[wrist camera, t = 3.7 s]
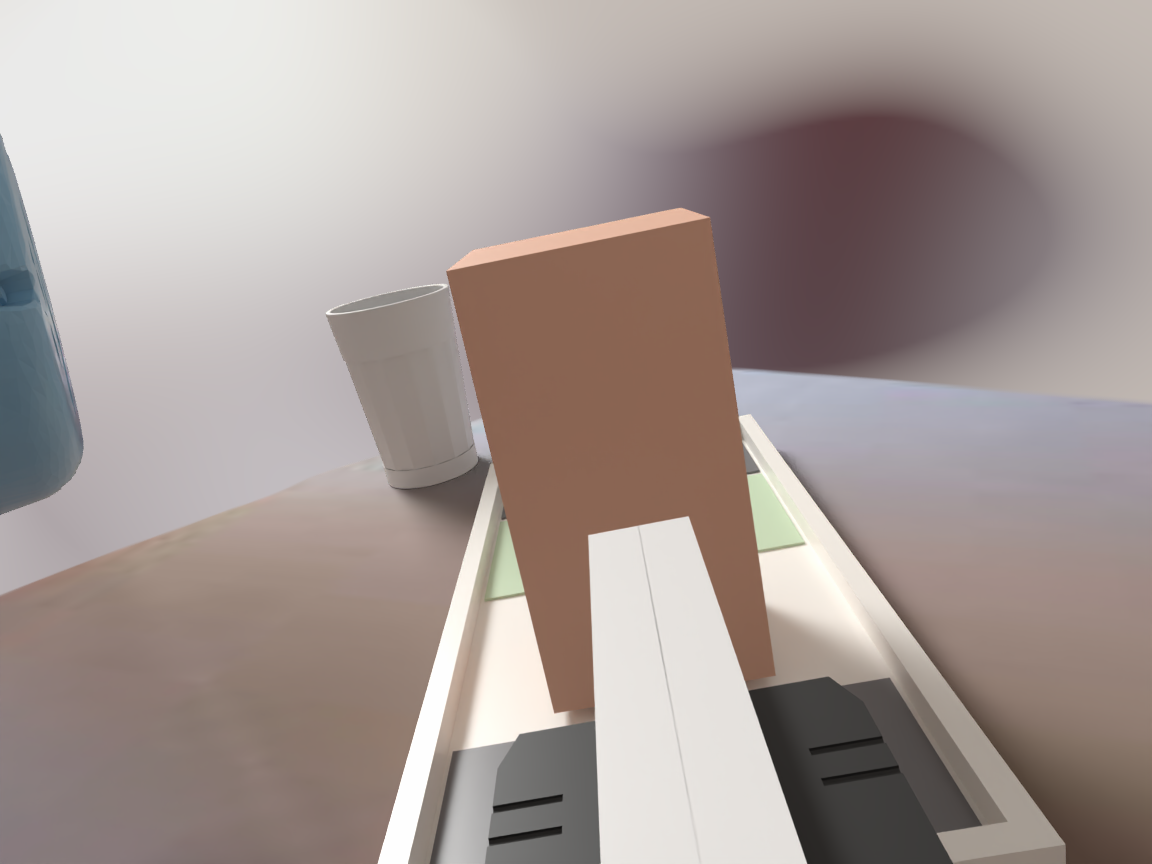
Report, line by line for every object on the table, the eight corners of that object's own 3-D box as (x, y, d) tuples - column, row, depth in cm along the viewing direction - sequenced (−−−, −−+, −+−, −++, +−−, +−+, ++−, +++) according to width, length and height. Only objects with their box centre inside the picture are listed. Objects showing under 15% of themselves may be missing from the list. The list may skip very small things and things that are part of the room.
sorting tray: (376, 1020, 19) (352, 955, 18) (498, 493, 49) (490, 463, 49) (1066, 915, 18) (1065, 844, 17) (754, 445, 48) (750, 414, 48)
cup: (357, 481, 57) (306, 313, 53) (453, 442, 61) (413, 285, 58) (408, 502, 51) (355, 315, 47) (512, 457, 55) (470, 282, 52)
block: (554, 713, 26) (446, 271, 21) (557, 614, 31) (473, 250, 27) (775, 675, 25) (710, 217, 21) (738, 582, 31) (680, 207, 27)
